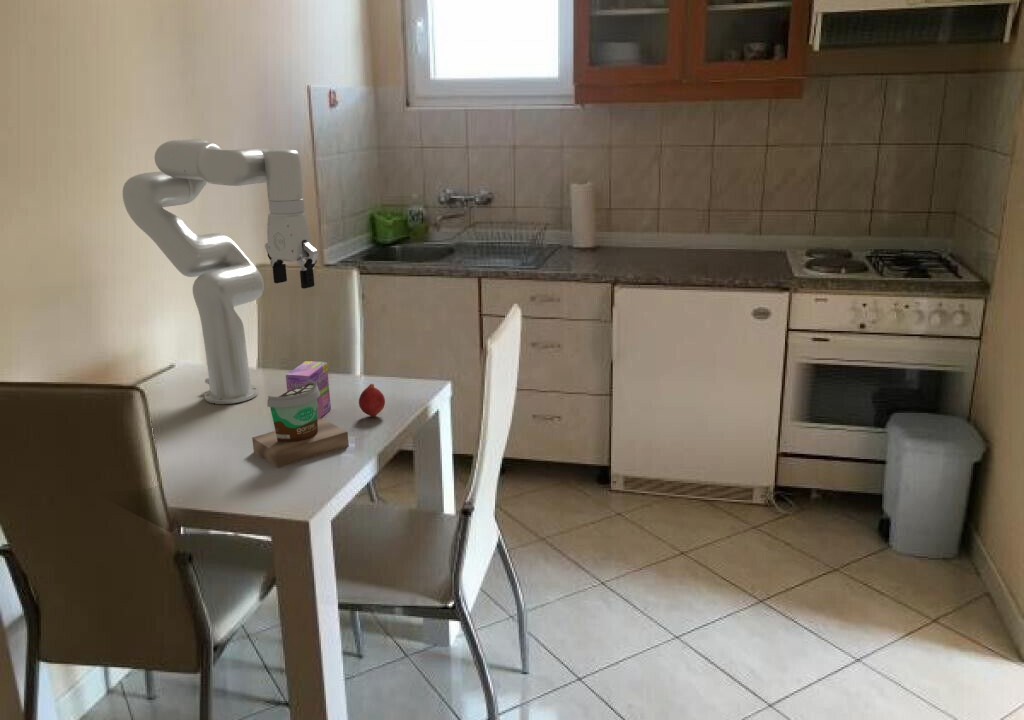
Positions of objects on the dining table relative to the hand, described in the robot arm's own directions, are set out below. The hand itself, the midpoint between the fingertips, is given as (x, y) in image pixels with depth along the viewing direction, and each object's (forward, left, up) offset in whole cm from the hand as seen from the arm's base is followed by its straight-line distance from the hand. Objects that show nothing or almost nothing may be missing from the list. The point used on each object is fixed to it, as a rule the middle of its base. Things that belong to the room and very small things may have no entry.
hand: (294, 284), depth 190 cm
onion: (+16, +6, -30) cm, 35 cm away
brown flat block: (+18, -16, -31) cm, 39 cm away
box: (+4, -2, -30) cm, 31 cm away
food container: (+19, -15, -27) cm, 37 cm away
